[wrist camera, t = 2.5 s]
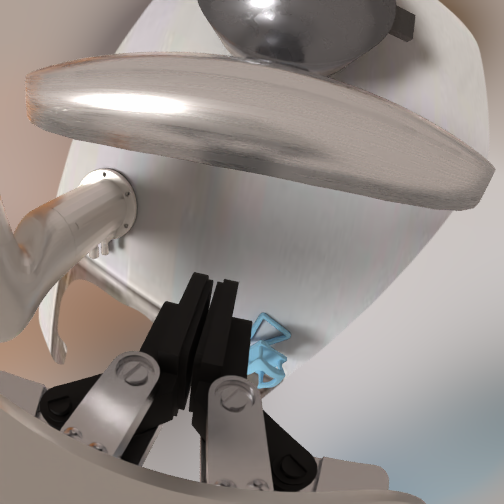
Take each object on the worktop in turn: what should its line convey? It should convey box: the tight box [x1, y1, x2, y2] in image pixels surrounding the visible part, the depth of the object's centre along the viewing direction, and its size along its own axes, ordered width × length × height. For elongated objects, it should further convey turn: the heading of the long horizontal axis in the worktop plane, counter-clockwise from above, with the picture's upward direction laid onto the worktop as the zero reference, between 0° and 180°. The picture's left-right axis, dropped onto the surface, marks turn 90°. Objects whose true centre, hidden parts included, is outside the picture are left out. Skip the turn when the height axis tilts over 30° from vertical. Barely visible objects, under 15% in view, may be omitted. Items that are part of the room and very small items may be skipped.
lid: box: [25, 52, 495, 211], centre depth 14 cm, size 25×23×4 cm
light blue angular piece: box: [247, 313, 291, 389], centre depth 47 cm, size 8×8×12 cm
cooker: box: [198, 0, 415, 77], centre depth 23 cm, size 22×28×12 cm
